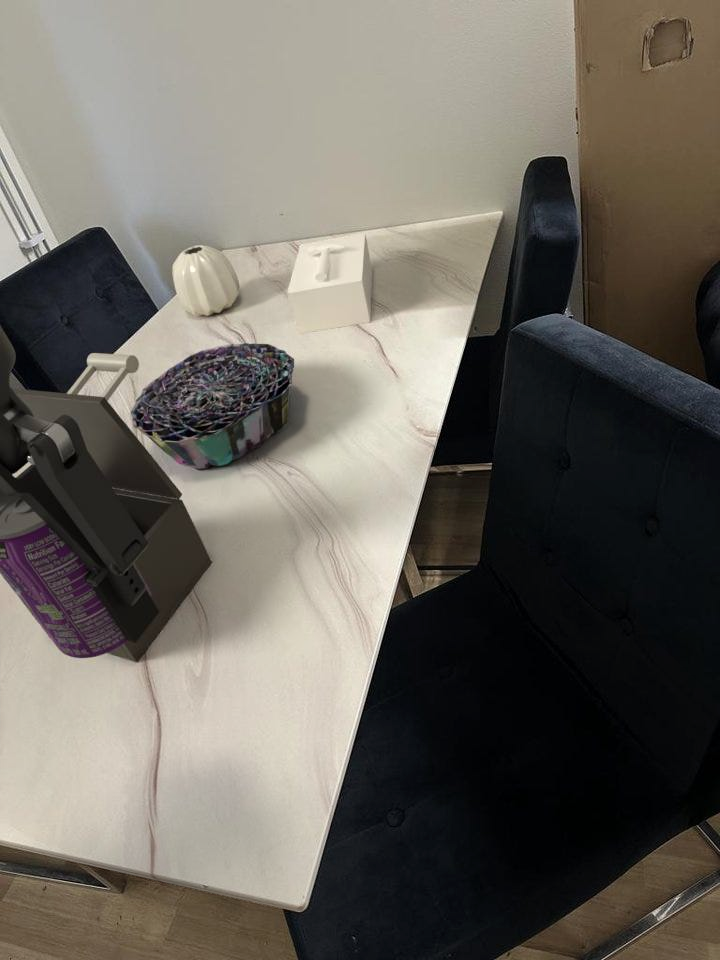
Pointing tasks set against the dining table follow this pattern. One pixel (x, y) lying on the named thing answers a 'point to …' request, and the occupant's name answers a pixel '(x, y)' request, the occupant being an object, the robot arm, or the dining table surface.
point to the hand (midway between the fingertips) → (101, 613)
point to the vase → (204, 280)
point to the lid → (105, 428)
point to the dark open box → (163, 559)
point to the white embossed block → (331, 284)
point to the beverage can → (53, 583)
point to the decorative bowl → (217, 403)
